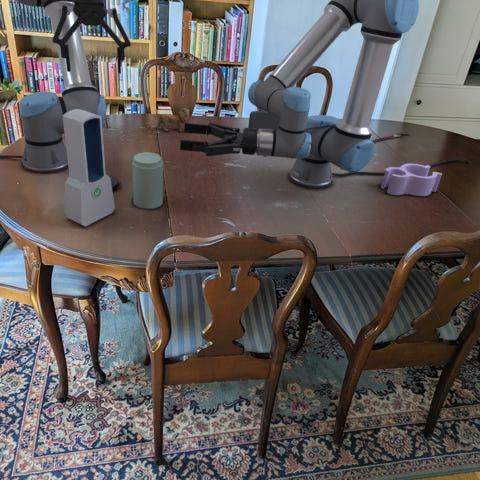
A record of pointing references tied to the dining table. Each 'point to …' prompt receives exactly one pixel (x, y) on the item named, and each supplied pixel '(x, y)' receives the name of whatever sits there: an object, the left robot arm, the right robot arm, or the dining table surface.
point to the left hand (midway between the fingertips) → (94, 71)
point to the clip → (410, 180)
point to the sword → (388, 137)
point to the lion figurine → (174, 119)
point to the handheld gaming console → (263, 120)
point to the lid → (114, 183)
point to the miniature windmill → (93, 74)
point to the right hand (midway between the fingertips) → (182, 136)
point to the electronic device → (86, 169)
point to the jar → (147, 180)
